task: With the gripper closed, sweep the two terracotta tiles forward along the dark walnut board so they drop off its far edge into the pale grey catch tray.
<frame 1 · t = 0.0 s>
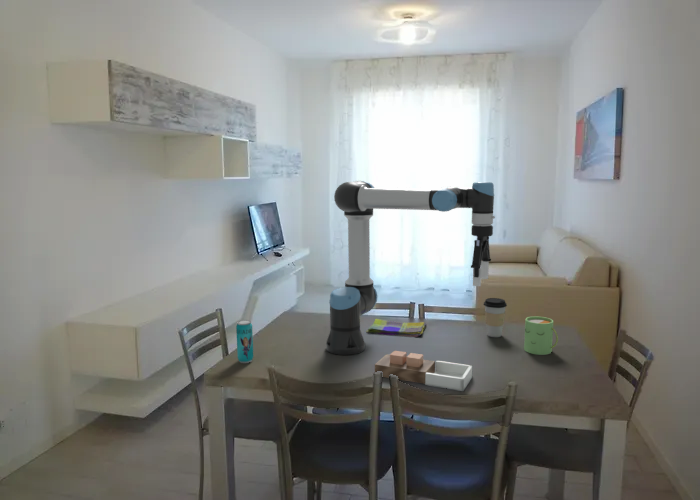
hand: (480, 282, 204), 28 cm above the table, fingers open, 13 cm apart
coffee cup: (494, 335, 232), on the table
mug: (540, 351, 212), on the table
dish towel: (397, 330, 241), on the table
tile b: (414, 364, 188), point 4 cm above the table, touching board
tile a: (398, 361, 191), point 4 cm above the table, touching board
board: (405, 373, 190), on the table
beverage can: (245, 361, 204), on the table
catch tray: (449, 380, 184), on the table
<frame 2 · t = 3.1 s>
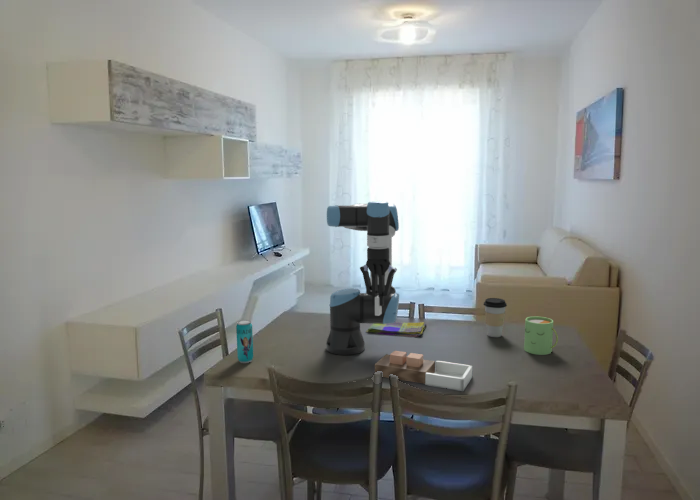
hand: (378, 314, 191), 20 cm above the table, fingers closed
nothing on the table moved.
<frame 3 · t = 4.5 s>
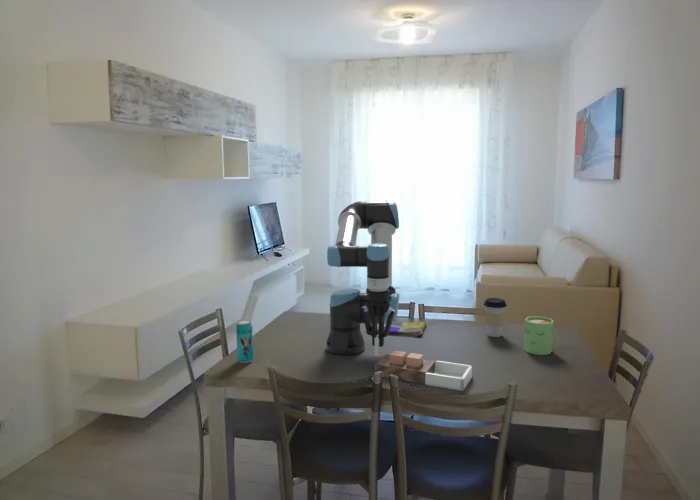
hand: (378, 354, 193), 5 cm above the table, fingers closed
nothing on the table moved.
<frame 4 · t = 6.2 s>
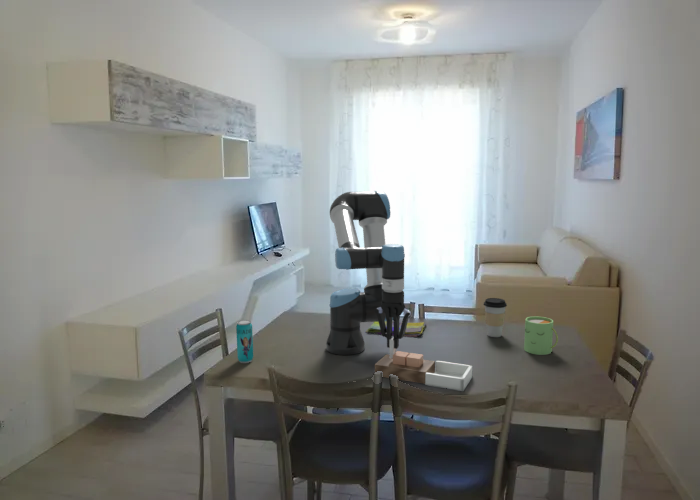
hand: (392, 356, 191), 6 cm above the table, fingers closed
tile a: (401, 362, 190), point 4 cm above the table, touching gripper
everything else where it was.
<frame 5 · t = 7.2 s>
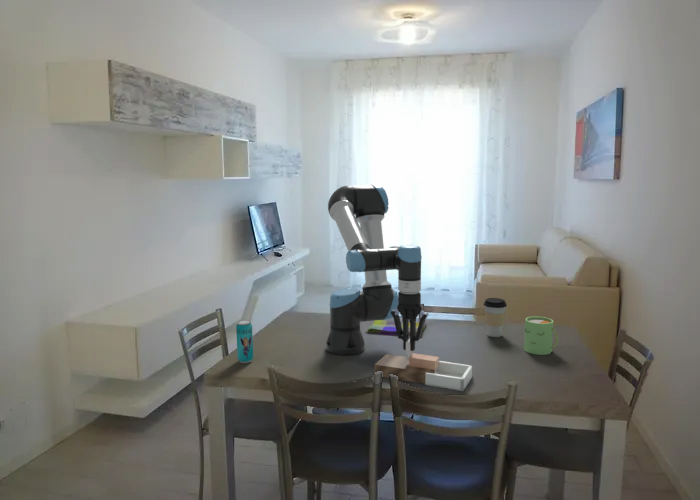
hand: (409, 359, 188), 6 cm above the table, fingers closed
tile b: (430, 366, 186), point 4 cm above the table, touching board
tile a: (417, 364, 188), point 4 cm above the table, touching gripper
everything else where it was.
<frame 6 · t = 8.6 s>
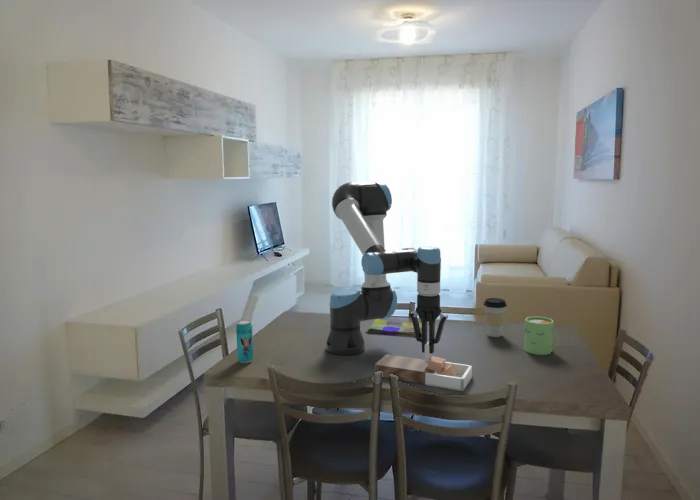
hand: (427, 362, 186), 6 cm above the table, fingers closed
tile b: (445, 368, 184), point 4 cm above the table, tilted 146°, touching catch tray
tile a: (436, 368, 185), point 4 cm above the table, tilted 7°
everything else where it was.
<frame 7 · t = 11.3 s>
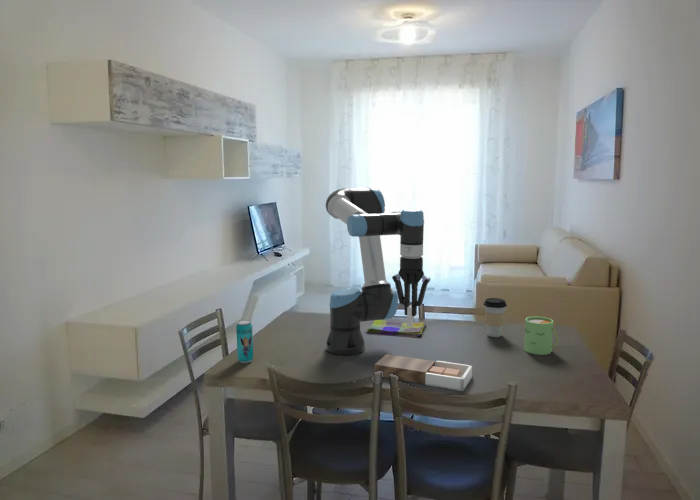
hand: (410, 324, 187), 18 cm above the table, fingers closed
tile b: (451, 371, 183), point 3 cm above the table, tilted 180°, touching catch tray
tile a: (437, 377, 185), resting on catch tray
everything else where it was.
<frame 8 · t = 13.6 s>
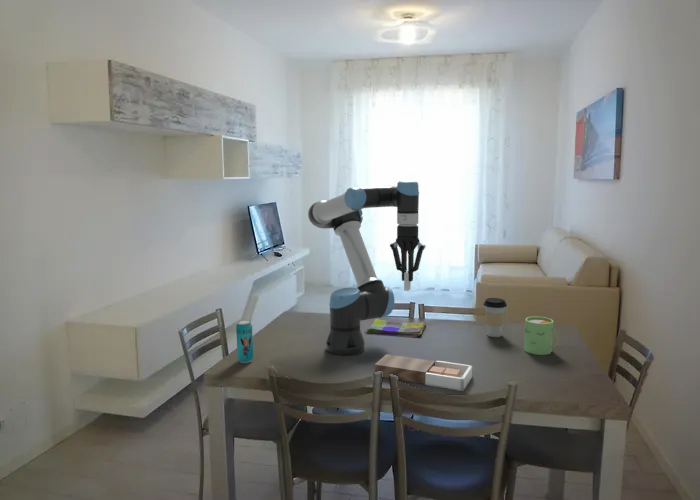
hand: (407, 289, 200), 26 cm above the table, fingers closed
nothing on the table moved.
at the end: tile a inside the target area (4.1 cm from its centre), point 0.5 cm above the table; tile b inside the target area (0.8 cm from its centre), point 3.5 cm above the table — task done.
